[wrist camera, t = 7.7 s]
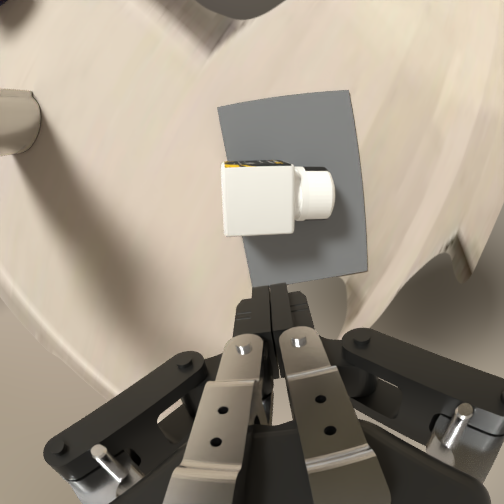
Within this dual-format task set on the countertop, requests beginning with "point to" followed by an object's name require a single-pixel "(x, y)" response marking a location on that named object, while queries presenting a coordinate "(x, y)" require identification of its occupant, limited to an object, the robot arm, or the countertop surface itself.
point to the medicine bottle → (273, 196)
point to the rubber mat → (303, 155)
